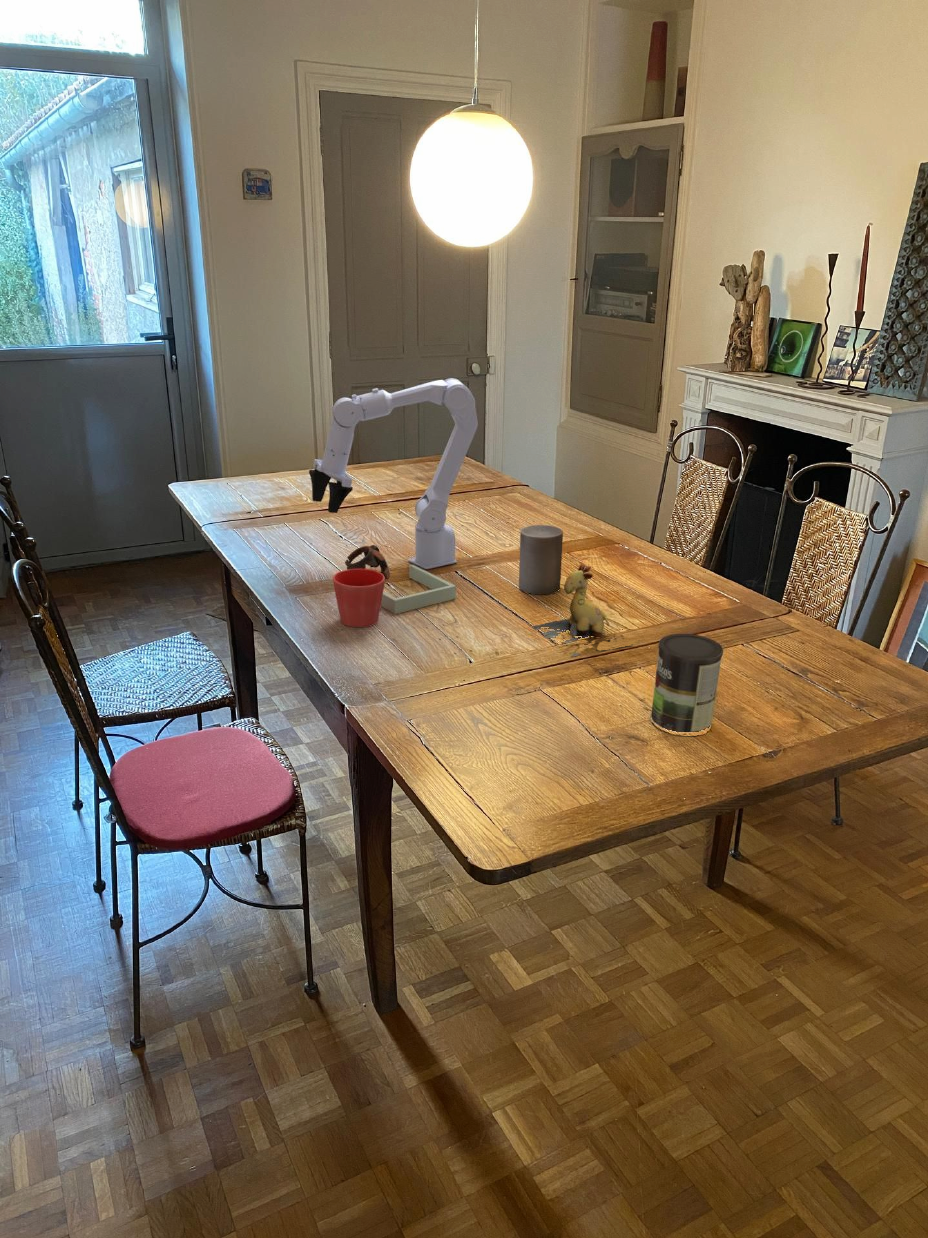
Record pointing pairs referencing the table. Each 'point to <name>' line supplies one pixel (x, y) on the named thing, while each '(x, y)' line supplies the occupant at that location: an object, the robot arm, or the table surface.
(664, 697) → the coffee can
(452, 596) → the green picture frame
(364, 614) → the flower pot
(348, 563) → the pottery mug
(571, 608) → the stuffed giraffe
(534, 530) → the pillar candle
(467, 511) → the table surface
